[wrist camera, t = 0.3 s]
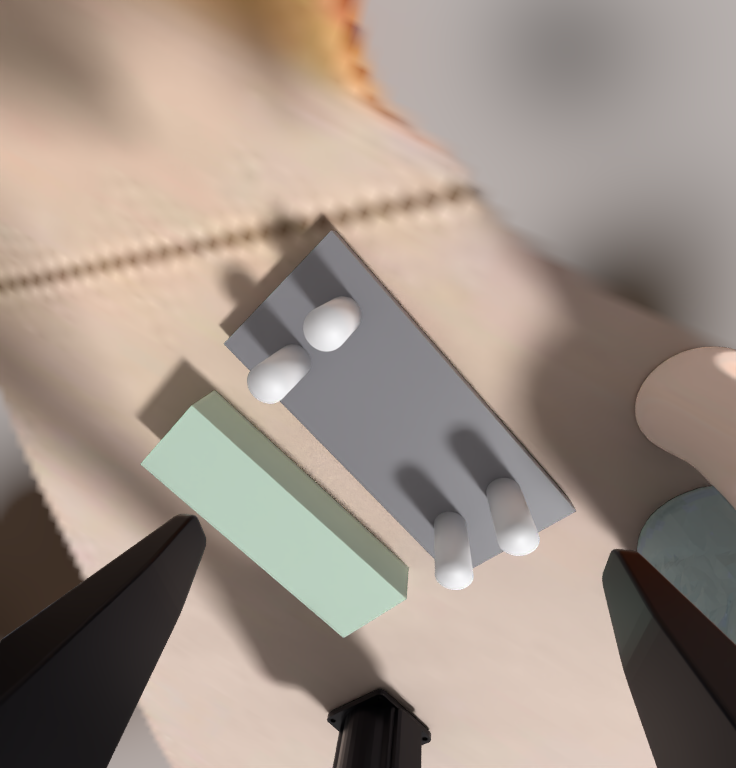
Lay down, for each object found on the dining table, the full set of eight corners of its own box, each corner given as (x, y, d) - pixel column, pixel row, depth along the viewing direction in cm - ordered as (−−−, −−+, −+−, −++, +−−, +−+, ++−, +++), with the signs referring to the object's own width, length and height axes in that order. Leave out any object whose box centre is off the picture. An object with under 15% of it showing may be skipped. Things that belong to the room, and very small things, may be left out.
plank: (351, 601, 30) (343, 638, 27) (170, 441, 27) (140, 464, 24) (408, 563, 28) (406, 598, 25) (218, 387, 25) (191, 405, 22)
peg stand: (452, 567, 27) (458, 635, 22) (231, 339, 23) (183, 362, 19) (570, 500, 24) (605, 562, 19) (335, 231, 20) (308, 225, 16)
